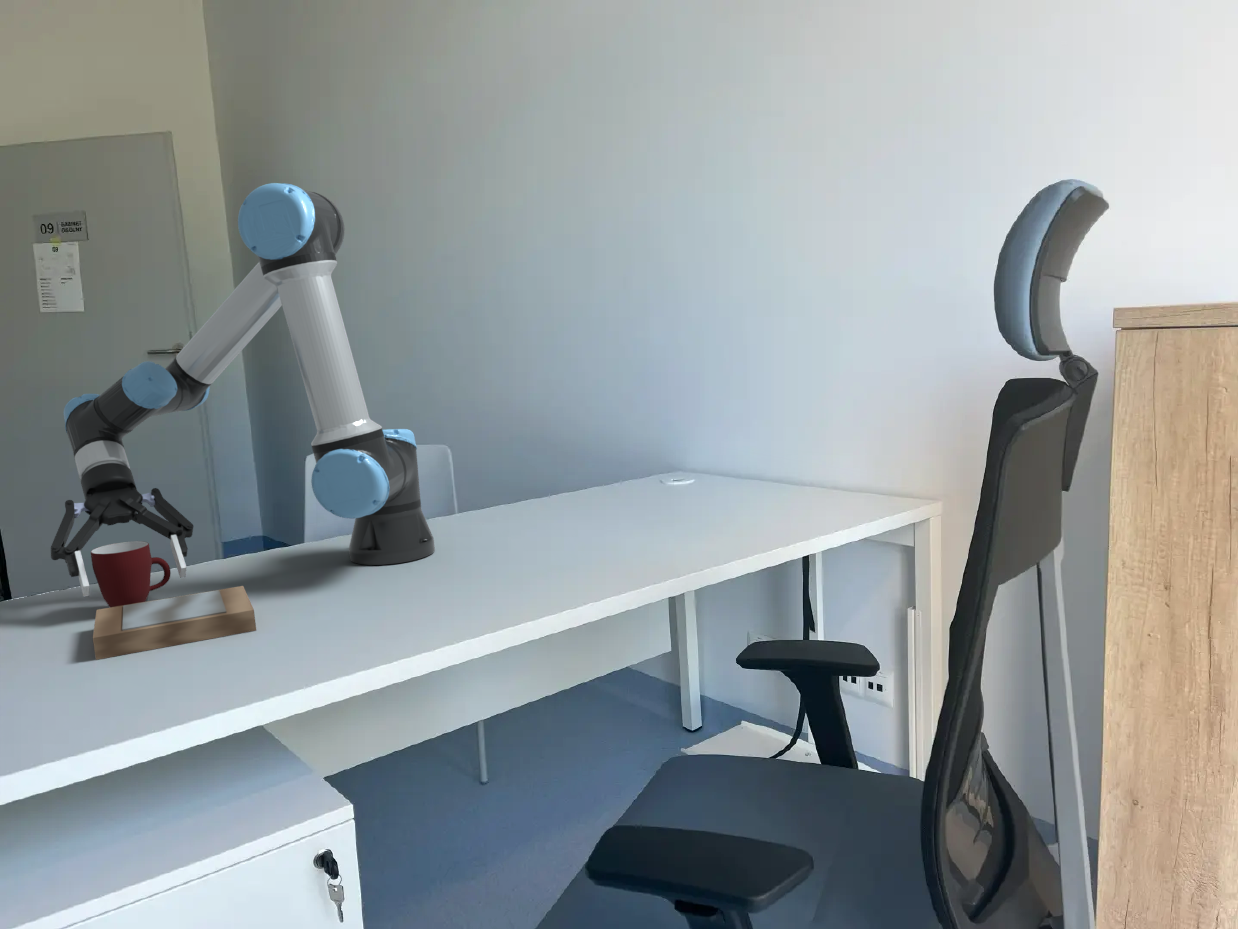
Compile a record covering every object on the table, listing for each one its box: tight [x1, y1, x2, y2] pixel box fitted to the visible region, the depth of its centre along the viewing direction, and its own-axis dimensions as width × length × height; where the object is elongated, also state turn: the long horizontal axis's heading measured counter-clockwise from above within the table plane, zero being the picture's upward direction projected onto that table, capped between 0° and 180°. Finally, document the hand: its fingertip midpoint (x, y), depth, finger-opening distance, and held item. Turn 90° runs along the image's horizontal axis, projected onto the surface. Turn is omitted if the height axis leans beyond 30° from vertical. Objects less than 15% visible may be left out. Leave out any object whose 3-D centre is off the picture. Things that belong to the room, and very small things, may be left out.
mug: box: [90, 540, 172, 608], centre depth 150 cm, size 10×8×10 cm
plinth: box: [92, 585, 257, 661], centre depth 138 cm, size 20×15×3 cm
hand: (136, 582), depth 148 cm, fingers open, 13 cm apart
